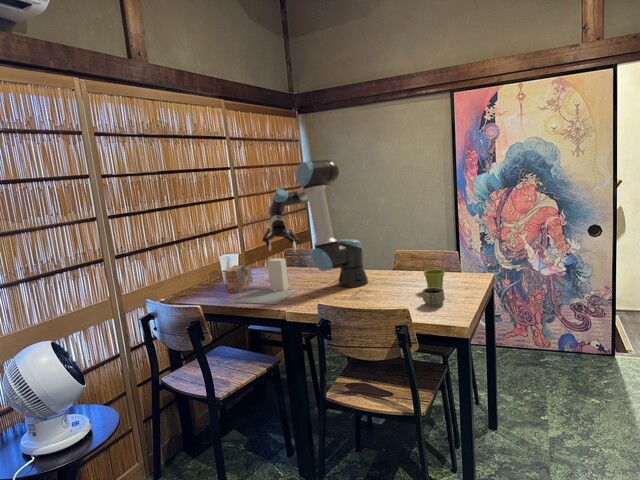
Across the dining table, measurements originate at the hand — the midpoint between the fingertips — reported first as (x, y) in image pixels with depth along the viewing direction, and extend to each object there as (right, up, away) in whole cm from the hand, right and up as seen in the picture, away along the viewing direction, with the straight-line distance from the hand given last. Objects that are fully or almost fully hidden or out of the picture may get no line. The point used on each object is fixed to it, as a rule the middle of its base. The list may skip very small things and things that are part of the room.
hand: (283, 250), depth 228 cm
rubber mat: (-7, -23, -15) cm, 28 cm away
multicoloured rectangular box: (-24, -21, +11) cm, 34 cm away
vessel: (+67, -21, -50) cm, 86 cm away
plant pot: (+72, -18, -31) cm, 81 cm away
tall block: (-1, -20, -3) cm, 21 cm away
